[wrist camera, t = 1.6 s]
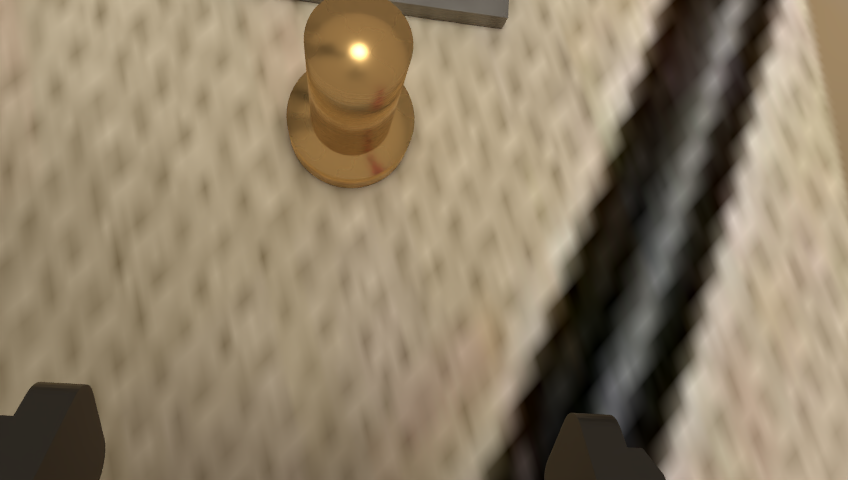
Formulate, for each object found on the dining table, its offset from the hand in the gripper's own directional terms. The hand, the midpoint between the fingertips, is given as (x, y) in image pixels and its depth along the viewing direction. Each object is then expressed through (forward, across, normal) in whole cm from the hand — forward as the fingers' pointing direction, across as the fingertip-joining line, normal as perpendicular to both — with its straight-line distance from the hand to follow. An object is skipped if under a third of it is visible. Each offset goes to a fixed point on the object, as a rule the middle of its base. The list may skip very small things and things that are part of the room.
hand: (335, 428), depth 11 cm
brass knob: (+22, 0, +5) cm, 23 cm away
